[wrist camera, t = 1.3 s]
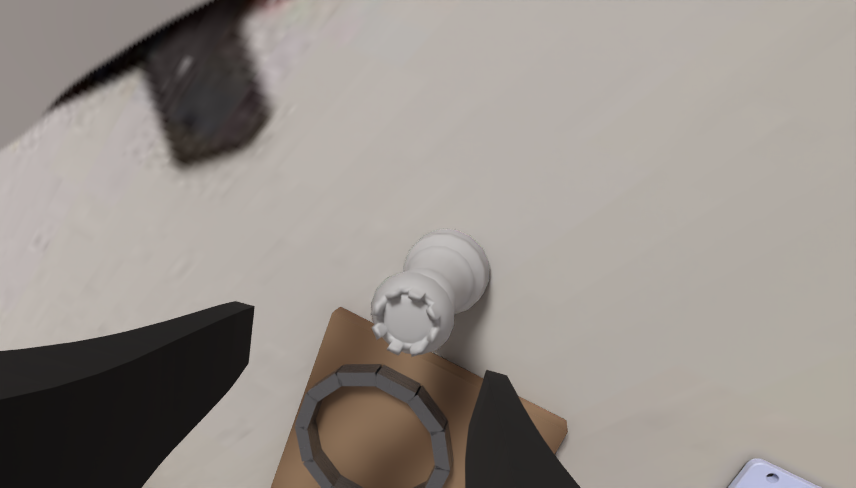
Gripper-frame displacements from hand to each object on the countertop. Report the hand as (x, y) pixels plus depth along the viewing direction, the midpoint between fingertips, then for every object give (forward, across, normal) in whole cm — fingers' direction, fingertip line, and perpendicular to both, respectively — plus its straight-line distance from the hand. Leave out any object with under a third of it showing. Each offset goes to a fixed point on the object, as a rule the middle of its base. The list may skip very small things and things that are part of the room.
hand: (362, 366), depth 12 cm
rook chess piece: (+11, -2, 0) cm, 11 cm away
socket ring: (+9, 0, +11) cm, 14 cm away
